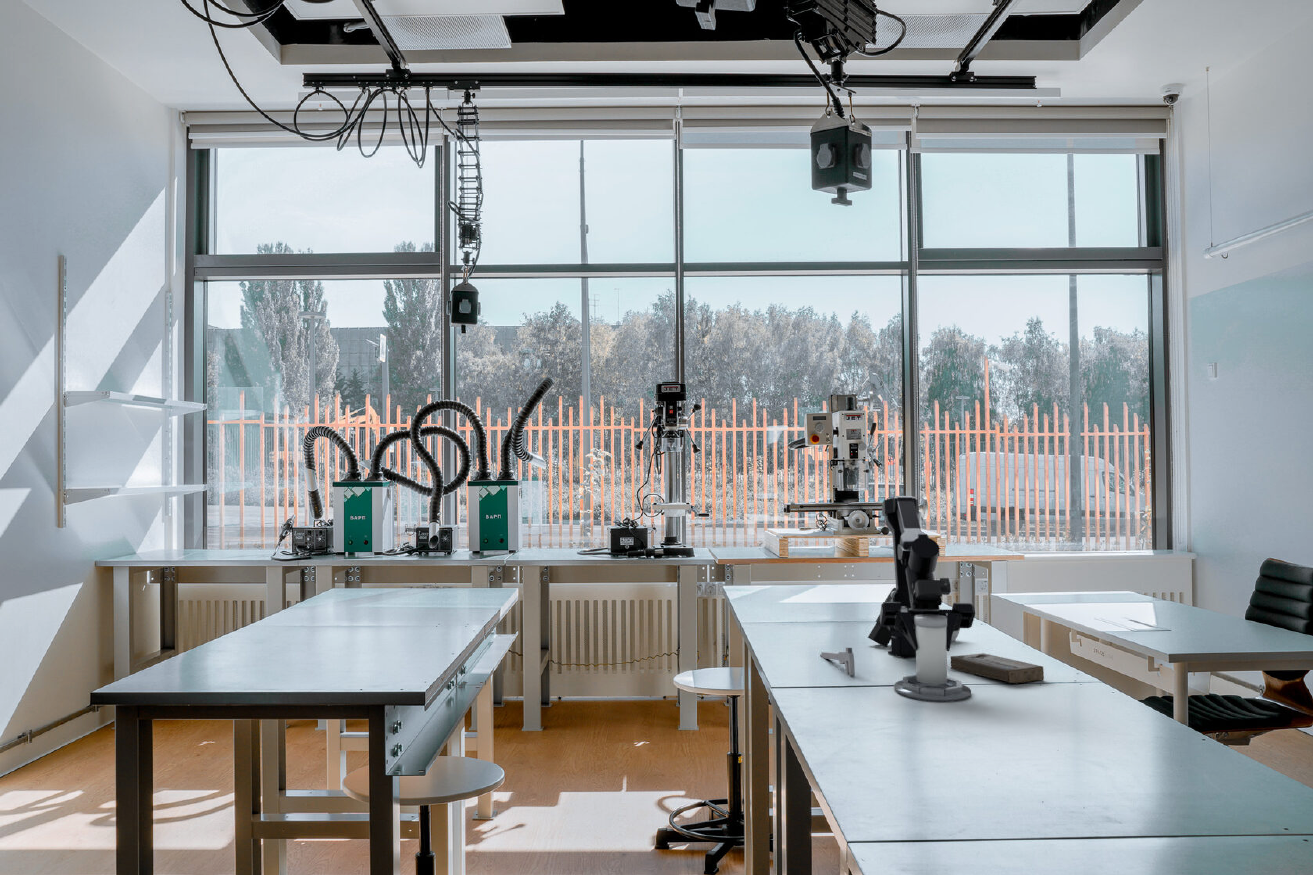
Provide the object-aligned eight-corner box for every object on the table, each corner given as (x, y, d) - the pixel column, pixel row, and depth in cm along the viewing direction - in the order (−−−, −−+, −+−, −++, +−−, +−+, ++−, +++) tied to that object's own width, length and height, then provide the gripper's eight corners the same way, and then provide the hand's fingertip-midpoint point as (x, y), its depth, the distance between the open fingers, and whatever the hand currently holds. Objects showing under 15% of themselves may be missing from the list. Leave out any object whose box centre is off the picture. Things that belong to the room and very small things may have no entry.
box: (1008, 685, 174) (1008, 670, 174) (949, 669, 190) (949, 655, 190) (1046, 681, 178) (1045, 666, 178) (984, 665, 194) (984, 652, 194)
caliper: (855, 677, 183) (854, 649, 183) (850, 677, 183) (849, 649, 183) (823, 656, 203) (823, 630, 203) (819, 656, 203) (819, 631, 203)
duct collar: (931, 679, 180) (931, 669, 180) (987, 695, 167) (987, 685, 167) (878, 688, 173) (878, 678, 173) (932, 706, 160) (932, 695, 160)
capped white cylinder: (922, 674, 175) (921, 613, 175) (952, 679, 171) (951, 616, 171) (910, 681, 170) (909, 617, 170) (941, 686, 166) (940, 621, 166)
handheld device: (866, 637, 215) (890, 585, 217) (932, 674, 220) (955, 622, 222) (874, 640, 211) (899, 587, 214) (940, 677, 216) (964, 625, 218)
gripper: (880, 563, 176) (888, 626, 165) (972, 564, 174) (986, 628, 162) (876, 594, 184) (884, 656, 173) (964, 596, 181) (977, 659, 170)
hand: (932, 649), depth 169 cm, fingers closed on capped white cylinder, 6 cm apart
